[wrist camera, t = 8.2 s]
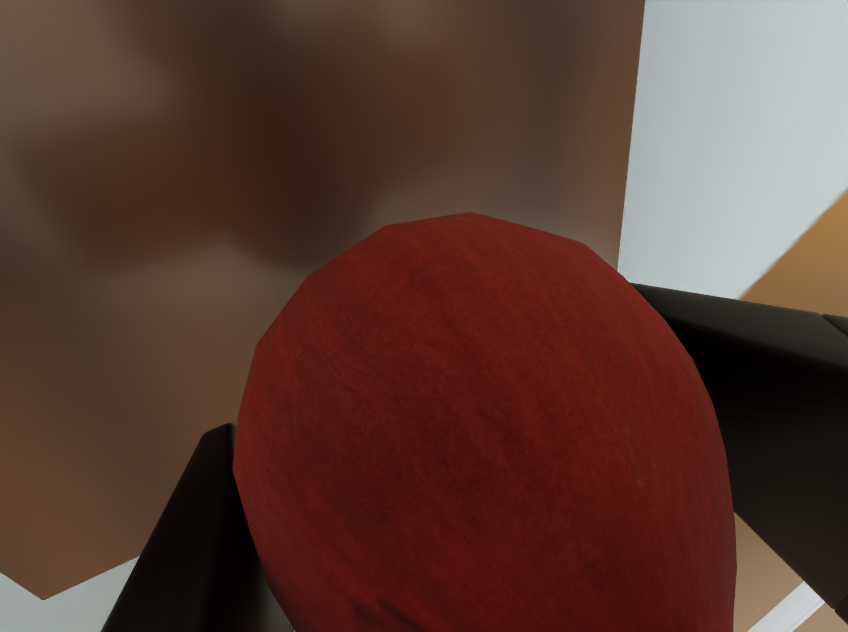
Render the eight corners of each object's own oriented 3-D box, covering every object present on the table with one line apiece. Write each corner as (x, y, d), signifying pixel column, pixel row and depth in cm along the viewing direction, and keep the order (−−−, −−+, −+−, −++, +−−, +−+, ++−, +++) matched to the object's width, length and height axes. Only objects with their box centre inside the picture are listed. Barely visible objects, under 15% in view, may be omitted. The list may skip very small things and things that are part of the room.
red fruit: (394, 444, 11) (644, 935, 5) (154, 369, 8) (29, 1622, 2) (542, 259, 10) (1070, 586, 4) (345, 81, 7) (1805, 463, 1)
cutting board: (52, 563, 14) (42, 602, 13) (-691, 4, 5) (-870, -2, 4) (589, 322, 18) (610, 336, 18) (622, -159, 10) (664, -178, 9)
